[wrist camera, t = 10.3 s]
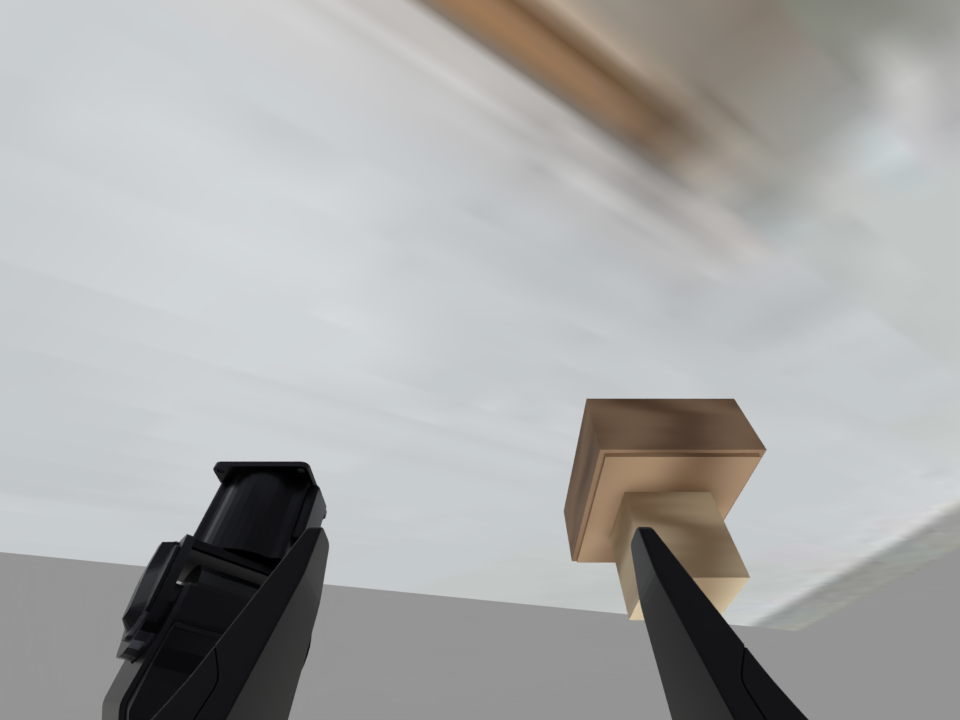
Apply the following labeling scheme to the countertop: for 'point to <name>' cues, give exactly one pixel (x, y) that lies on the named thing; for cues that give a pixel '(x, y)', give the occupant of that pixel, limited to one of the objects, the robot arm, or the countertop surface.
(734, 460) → the walnut box
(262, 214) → the countertop surface
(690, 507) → the oak cube
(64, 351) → the countertop surface
